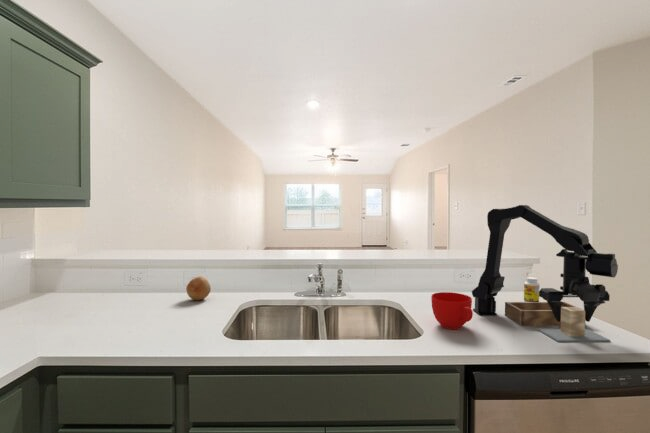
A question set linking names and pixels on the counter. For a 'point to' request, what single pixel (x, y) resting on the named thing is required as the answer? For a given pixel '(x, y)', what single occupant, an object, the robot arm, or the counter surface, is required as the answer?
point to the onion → (198, 288)
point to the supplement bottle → (531, 290)
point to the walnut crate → (532, 313)
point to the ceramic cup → (451, 309)
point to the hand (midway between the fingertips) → (572, 321)
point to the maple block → (573, 321)
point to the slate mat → (562, 337)
